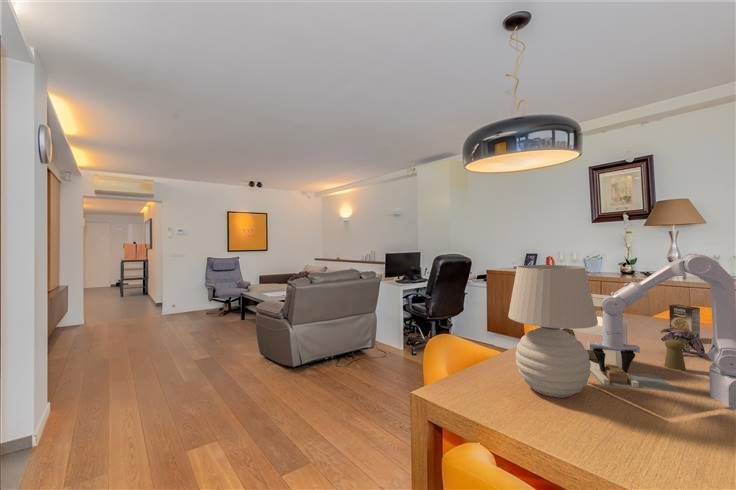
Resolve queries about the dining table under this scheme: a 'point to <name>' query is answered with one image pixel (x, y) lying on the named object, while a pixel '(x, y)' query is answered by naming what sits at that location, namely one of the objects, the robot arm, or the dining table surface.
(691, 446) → the dining table surface
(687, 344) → the decorative flower
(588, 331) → the gable box
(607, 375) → the wooden box
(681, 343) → the cork
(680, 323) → the food box
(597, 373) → the board
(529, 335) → the table lamp
